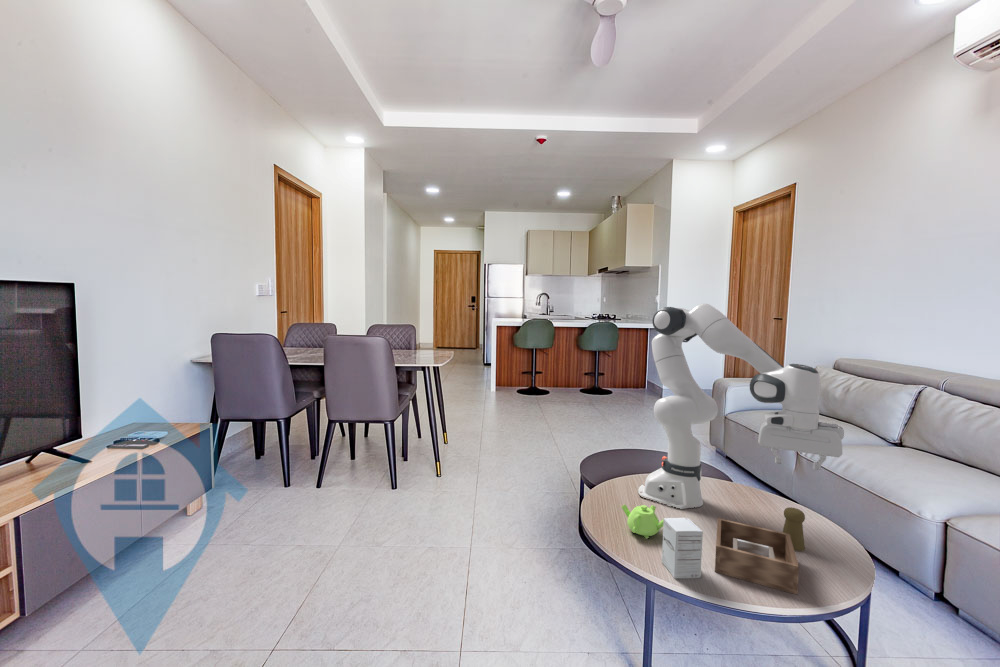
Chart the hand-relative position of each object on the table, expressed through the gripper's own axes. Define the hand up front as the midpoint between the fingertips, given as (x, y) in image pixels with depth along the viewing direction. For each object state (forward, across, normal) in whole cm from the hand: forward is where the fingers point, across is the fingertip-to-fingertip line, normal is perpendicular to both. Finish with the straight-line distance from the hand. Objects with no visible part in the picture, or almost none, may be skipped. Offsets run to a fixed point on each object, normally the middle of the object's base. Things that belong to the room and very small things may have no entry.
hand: (797, 466), depth 124 cm
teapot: (+24, +40, +15) cm, 49 cm away
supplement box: (+24, +28, +31) cm, 48 cm away
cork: (+24, 0, 0) cm, 24 cm away
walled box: (+24, +11, +18) cm, 32 cm away
